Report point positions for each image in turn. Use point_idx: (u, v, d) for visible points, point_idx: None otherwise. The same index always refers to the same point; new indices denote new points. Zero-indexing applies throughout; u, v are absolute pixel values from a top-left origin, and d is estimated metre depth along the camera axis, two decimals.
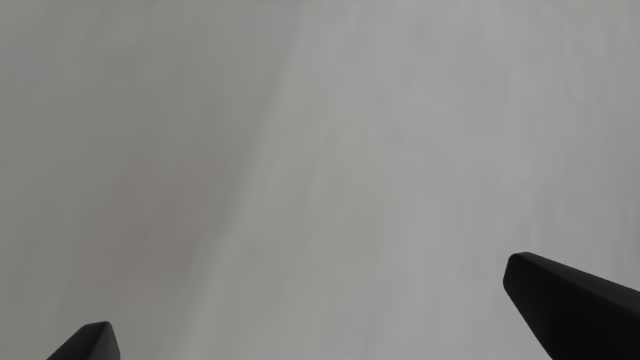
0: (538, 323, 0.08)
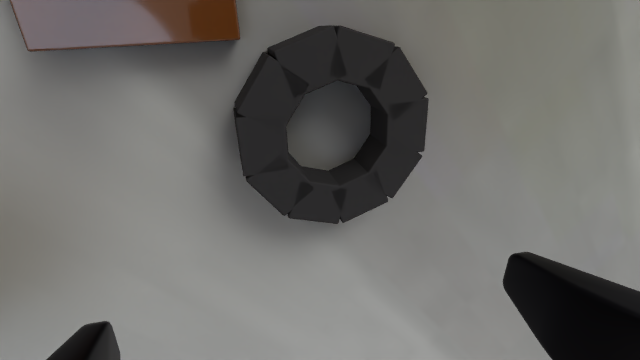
0: (538, 323, 0.08)
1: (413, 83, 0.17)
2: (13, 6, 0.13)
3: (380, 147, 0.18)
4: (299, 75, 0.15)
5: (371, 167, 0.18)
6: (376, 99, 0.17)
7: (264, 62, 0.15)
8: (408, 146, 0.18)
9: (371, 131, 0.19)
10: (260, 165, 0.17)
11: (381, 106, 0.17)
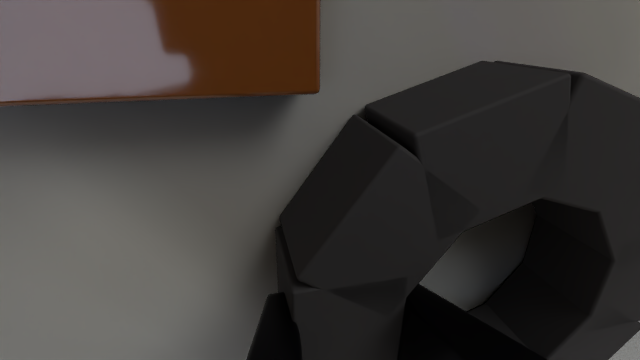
0: (404, 353, 0.07)
1: None
2: None
3: (568, 311, 0.09)
4: (462, 191, 0.06)
5: (550, 353, 0.09)
6: (599, 232, 0.08)
7: (383, 160, 0.06)
8: (627, 313, 0.09)
9: (531, 260, 0.10)
10: None
11: (602, 244, 0.08)
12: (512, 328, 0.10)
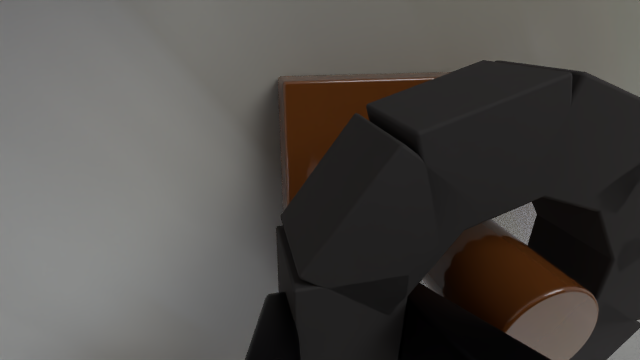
0: (406, 353, 0.07)
1: None
2: None
3: None
4: (464, 190, 0.06)
5: None
6: (599, 231, 0.08)
7: (385, 159, 0.06)
8: (626, 312, 0.09)
9: None
10: None
11: (602, 243, 0.08)
12: None
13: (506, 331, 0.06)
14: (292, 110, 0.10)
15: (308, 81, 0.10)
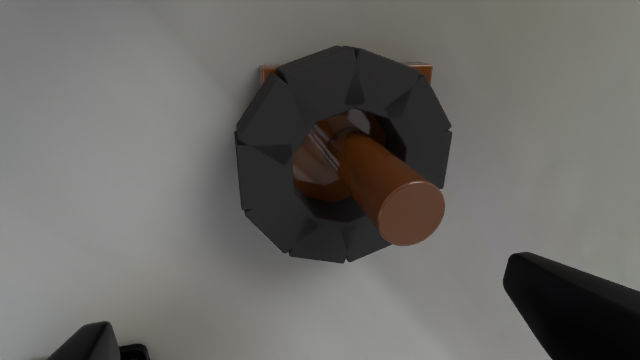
0: (538, 323, 0.08)
1: (437, 115, 0.15)
2: None
3: None
4: (311, 101, 0.14)
5: None
6: (395, 130, 0.15)
7: (272, 85, 0.13)
8: None
9: None
10: (261, 198, 0.15)
11: (399, 138, 0.15)
12: None
13: (383, 206, 0.11)
14: None
15: None
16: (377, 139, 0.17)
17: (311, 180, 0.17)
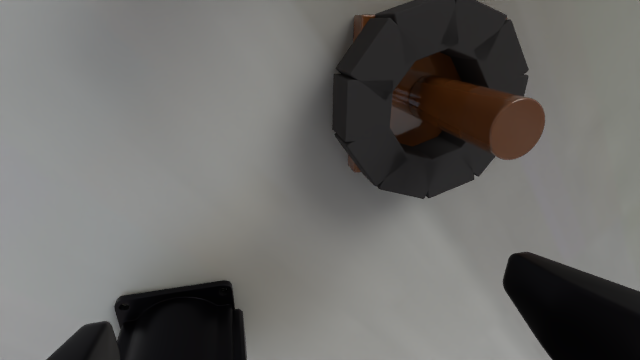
0: (538, 323, 0.08)
1: (517, 58, 0.17)
2: None
3: None
4: (414, 40, 0.15)
5: (464, 142, 0.18)
6: (480, 72, 0.17)
7: (383, 24, 0.15)
8: None
9: None
10: (362, 131, 0.16)
11: (483, 80, 0.17)
12: (449, 140, 0.19)
13: (496, 119, 0.13)
14: None
15: None
16: None
17: (393, 124, 0.19)
